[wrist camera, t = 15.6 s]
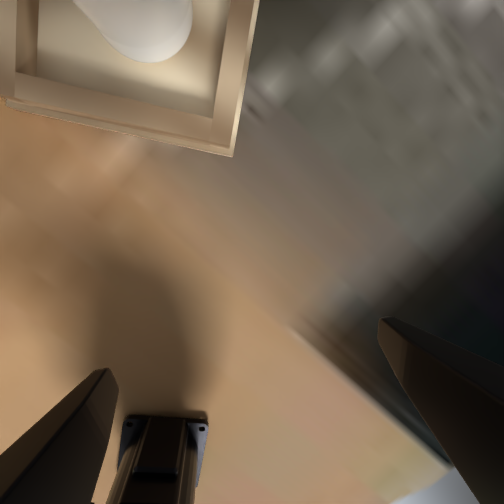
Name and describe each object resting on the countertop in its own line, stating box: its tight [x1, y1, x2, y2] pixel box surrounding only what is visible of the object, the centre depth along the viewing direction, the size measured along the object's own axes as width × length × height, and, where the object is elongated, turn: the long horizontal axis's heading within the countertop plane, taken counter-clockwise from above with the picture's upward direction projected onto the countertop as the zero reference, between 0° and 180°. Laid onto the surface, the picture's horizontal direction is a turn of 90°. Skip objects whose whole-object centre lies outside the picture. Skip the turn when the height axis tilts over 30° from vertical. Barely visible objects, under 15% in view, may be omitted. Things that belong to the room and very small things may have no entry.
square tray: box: [0, 0, 260, 157], centre depth 15 cm, size 13×13×2 cm
